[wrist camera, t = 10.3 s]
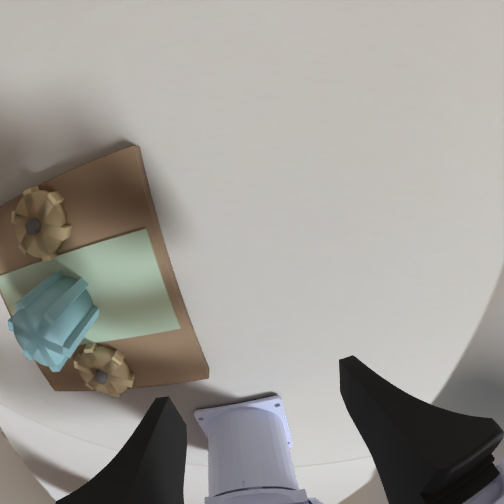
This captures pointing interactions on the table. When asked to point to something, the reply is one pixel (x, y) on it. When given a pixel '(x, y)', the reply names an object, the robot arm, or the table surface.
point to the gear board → (104, 275)
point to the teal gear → (53, 319)
